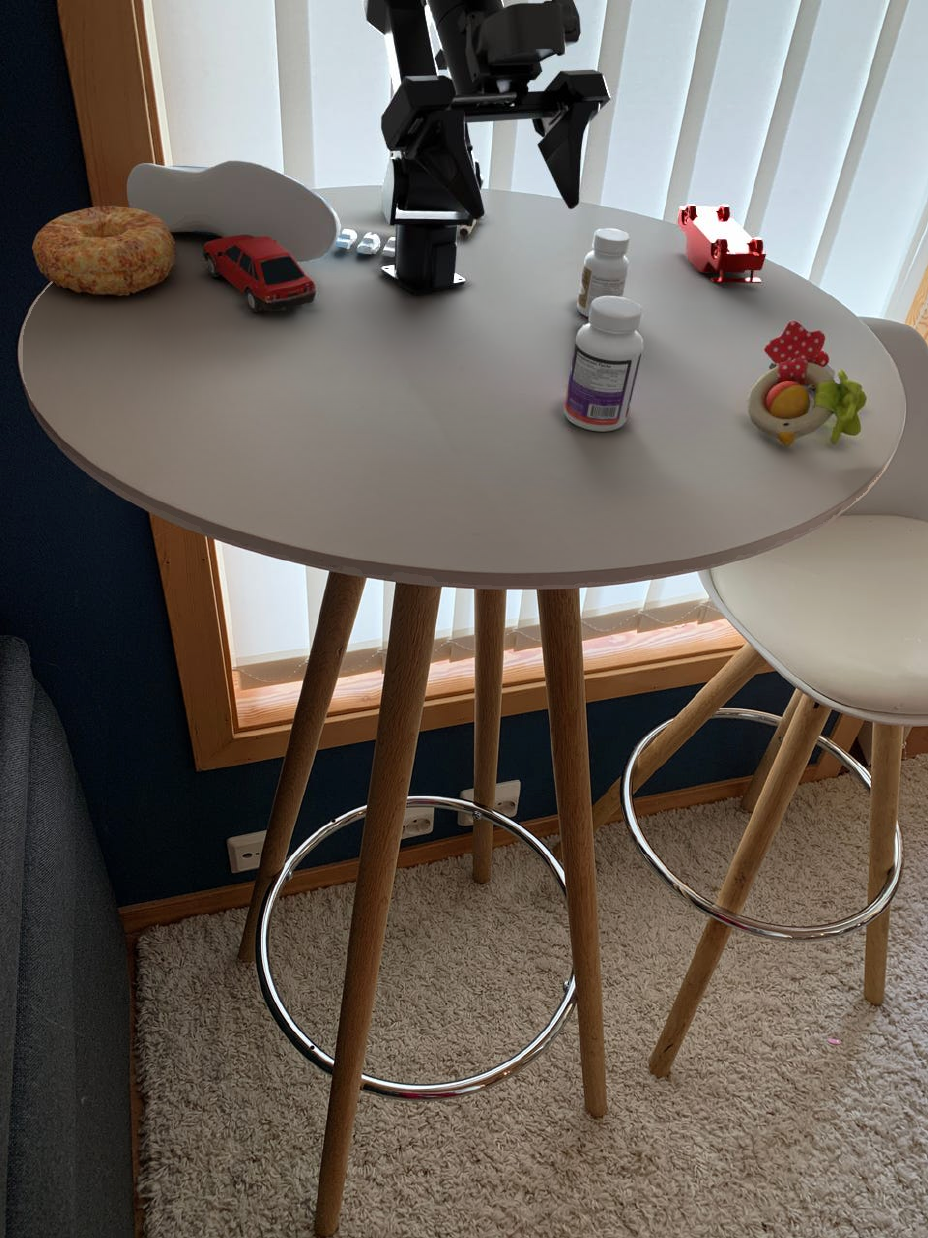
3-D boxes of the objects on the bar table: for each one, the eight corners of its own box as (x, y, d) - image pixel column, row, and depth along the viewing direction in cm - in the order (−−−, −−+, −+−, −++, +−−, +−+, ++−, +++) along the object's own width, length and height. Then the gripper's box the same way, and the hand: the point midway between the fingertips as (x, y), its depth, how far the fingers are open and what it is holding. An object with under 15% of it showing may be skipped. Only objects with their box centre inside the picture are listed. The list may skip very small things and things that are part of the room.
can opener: (458, 227, 106) (459, 238, 107) (478, 226, 106) (479, 236, 107) (466, 206, 113) (467, 216, 114) (485, 204, 113) (486, 214, 114)
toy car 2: (723, 245, 99) (711, 290, 102) (772, 246, 100) (758, 290, 103) (680, 197, 109) (670, 240, 112) (724, 198, 110) (713, 240, 113)
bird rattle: (796, 446, 74) (894, 378, 73) (711, 356, 78) (802, 292, 78) (795, 481, 79) (885, 419, 79) (715, 396, 84) (800, 336, 83)
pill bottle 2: (586, 394, 82) (607, 285, 75) (638, 418, 79) (664, 308, 73) (549, 415, 78) (568, 303, 72) (602, 440, 76) (627, 327, 70)
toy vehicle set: (310, 247, 101) (310, 229, 100) (321, 234, 104) (321, 218, 102) (418, 266, 100) (419, 249, 99) (426, 253, 103) (428, 236, 101)
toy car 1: (254, 254, 97) (249, 205, 93) (324, 311, 89) (323, 260, 86) (196, 266, 94) (189, 216, 90) (264, 326, 86) (260, 274, 83)
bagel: (180, 241, 85) (191, 294, 88) (158, 192, 94) (169, 242, 98) (31, 263, 82) (48, 317, 85) (24, 210, 91) (40, 261, 94)
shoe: (330, 176, 90) (378, 167, 100) (120, 139, 95) (185, 134, 105) (326, 274, 95) (372, 256, 105) (126, 234, 99) (188, 221, 109)
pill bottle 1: (579, 299, 97) (592, 222, 92) (621, 306, 97) (636, 230, 91) (573, 315, 94) (586, 237, 89) (616, 323, 93) (632, 245, 88)
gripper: (405, -57, 63) (474, 167, 64) (620, -50, 71) (679, 149, 72) (352, 49, 73) (412, 242, 74) (546, 44, 81) (599, 218, 82)
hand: (528, 211), depth 75 cm, fingers open, 9 cm apart
